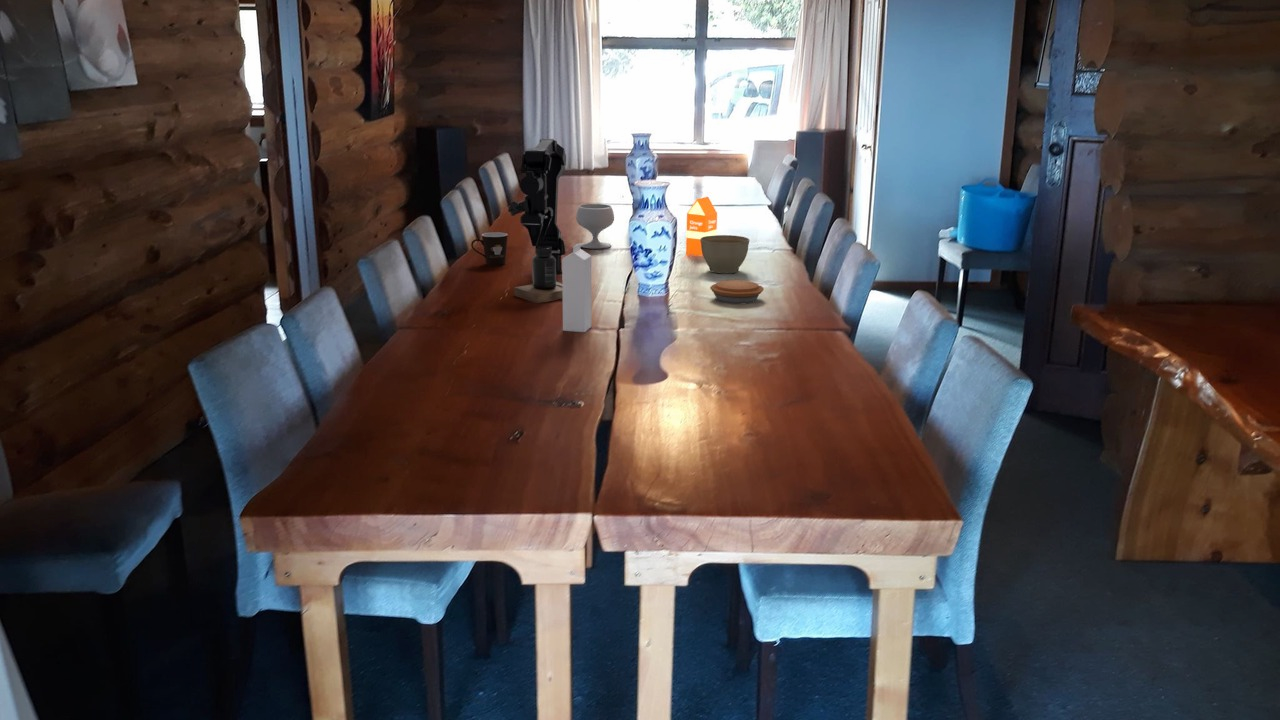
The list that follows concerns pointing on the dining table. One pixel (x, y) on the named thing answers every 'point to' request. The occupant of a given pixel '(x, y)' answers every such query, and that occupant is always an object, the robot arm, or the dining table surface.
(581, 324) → the milk
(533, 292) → the beige flat block
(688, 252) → the orange juice
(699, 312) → the dining table surface
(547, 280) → the supplement bottle
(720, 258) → the planter bowl
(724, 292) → the pie
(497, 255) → the coffee mug
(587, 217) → the chalice
